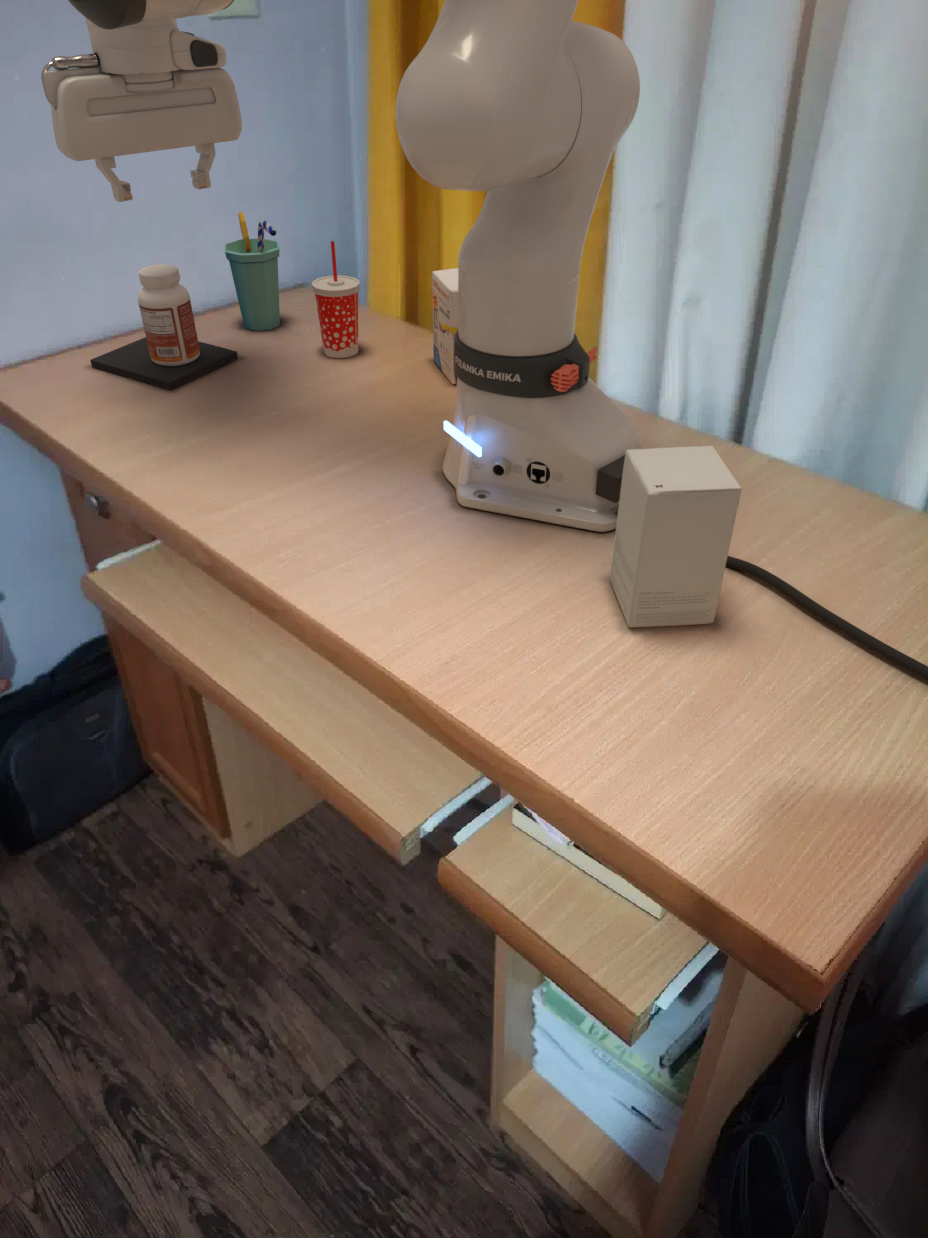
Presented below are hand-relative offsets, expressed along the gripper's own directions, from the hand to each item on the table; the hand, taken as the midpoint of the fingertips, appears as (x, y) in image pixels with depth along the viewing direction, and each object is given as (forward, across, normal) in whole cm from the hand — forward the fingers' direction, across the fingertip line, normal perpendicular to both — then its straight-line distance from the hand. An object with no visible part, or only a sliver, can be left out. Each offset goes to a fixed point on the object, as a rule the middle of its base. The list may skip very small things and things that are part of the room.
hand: (163, 193), depth 103 cm
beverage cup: (+21, +18, -6) cm, 28 cm away
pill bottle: (+20, -1, +3) cm, 20 cm away
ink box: (+21, +28, -21) cm, 41 cm away
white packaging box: (+21, +8, -70) cm, 74 cm away
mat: (+21, -2, +5) cm, 22 cm away
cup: (+21, +15, +9) cm, 27 cm away
